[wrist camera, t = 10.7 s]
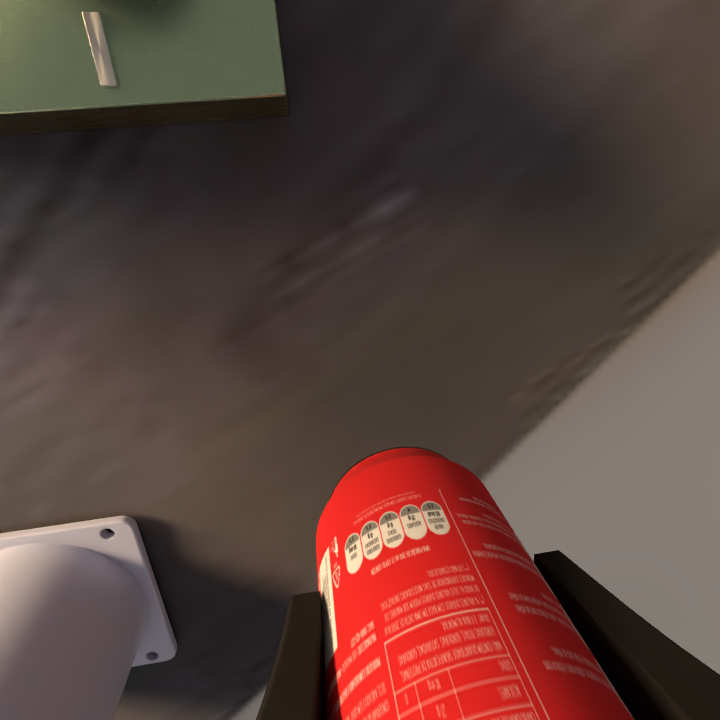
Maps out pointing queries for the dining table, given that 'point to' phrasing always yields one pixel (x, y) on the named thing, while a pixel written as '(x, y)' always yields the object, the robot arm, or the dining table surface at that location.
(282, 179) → the dining table surface
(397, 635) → the beverage can
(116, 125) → the panel
